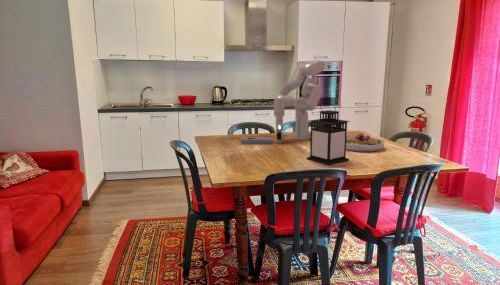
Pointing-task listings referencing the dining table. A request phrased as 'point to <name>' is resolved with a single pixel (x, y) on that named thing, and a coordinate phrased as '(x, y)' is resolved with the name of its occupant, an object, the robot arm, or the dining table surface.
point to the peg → (279, 139)
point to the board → (256, 140)
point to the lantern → (328, 139)
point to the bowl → (363, 143)
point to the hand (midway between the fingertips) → (278, 137)
